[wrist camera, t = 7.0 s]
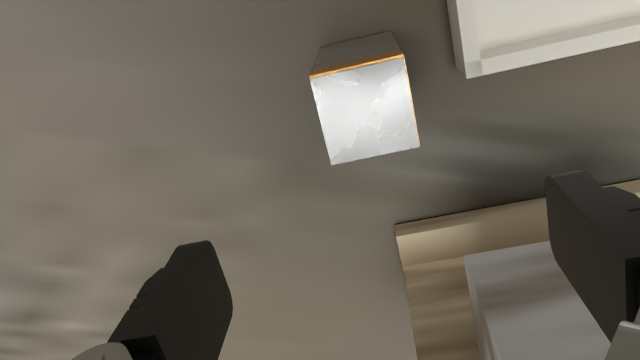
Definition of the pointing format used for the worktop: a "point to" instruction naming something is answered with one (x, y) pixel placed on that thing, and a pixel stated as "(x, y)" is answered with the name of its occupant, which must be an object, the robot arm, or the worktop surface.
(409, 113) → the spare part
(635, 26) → the tray
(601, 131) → the worktop surface
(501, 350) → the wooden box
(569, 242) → the robot arm
